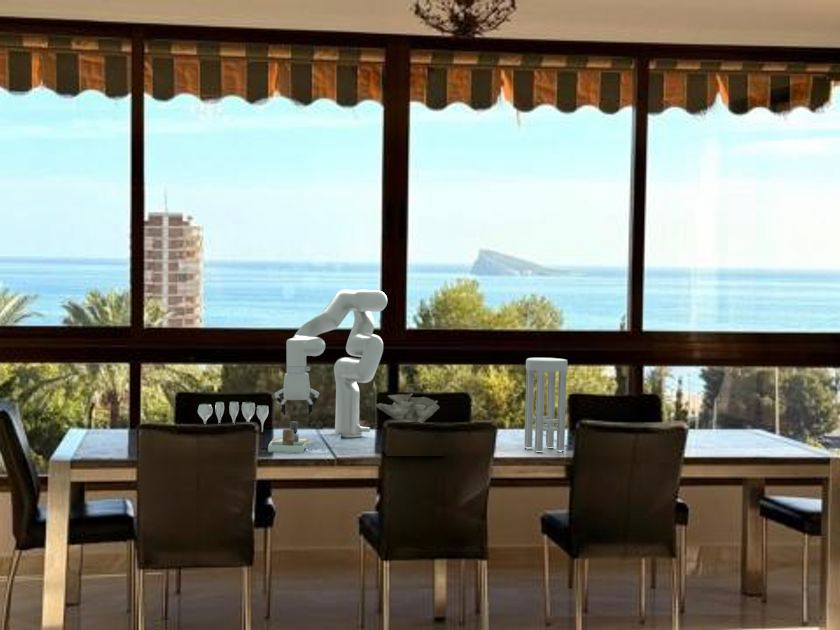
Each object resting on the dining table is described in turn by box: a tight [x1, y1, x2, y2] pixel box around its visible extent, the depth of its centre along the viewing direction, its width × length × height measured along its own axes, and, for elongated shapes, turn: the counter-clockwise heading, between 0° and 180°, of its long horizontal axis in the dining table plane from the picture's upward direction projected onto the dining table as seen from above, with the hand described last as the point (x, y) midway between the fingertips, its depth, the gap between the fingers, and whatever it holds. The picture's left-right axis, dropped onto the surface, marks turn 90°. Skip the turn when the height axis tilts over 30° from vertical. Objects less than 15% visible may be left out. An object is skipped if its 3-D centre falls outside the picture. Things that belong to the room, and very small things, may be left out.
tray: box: [267, 440, 307, 454], centre depth 457 cm, size 13×10×2 cm
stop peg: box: [282, 428, 294, 446], centre depth 457 cm, size 4×4×7 cm
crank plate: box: [268, 437, 313, 446], centre depth 471 cm, size 15×15×2 cm
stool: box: [524, 357, 568, 452], centre depth 473 cm, size 16×16×35 cm
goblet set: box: [197, 401, 269, 433], centre depth 494 cm, size 28×6×13 cm, turn 93°
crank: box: [289, 420, 300, 442], centre depth 472 cm, size 11×4×6 cm, turn 5°
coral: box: [375, 392, 441, 424], centre depth 460 cm, size 25×20×22 cm
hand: (297, 414), depth 477 cm, fingers open, 9 cm apart
